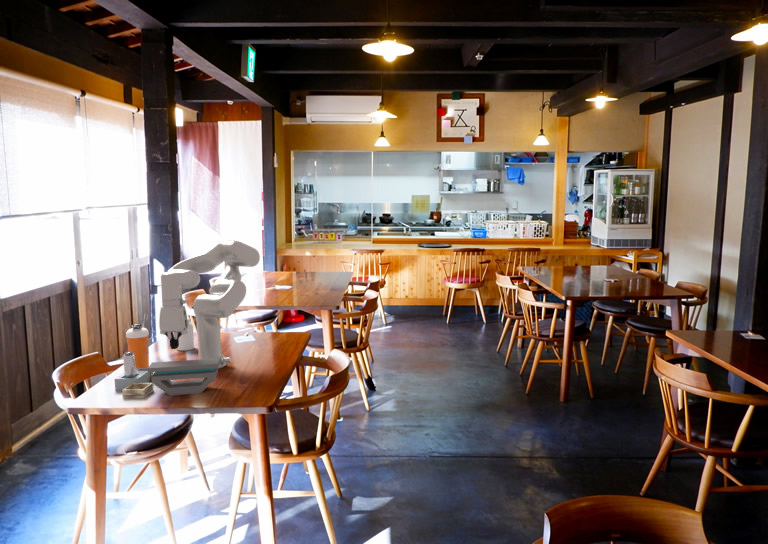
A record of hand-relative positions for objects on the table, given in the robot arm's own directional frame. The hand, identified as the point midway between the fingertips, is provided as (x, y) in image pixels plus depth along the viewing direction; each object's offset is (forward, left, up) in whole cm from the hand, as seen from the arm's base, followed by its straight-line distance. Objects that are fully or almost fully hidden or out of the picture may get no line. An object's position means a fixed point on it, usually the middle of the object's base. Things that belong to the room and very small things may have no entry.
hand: (174, 348), depth 235 cm
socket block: (+15, +5, -13) cm, 20 cm away
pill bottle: (+14, -49, -14) cm, 53 cm away
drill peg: (+15, +8, -13) cm, 21 cm away
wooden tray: (+8, +16, -13) cm, 23 cm away
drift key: (+8, 0, -13) cm, 16 cm away
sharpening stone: (-9, +13, -14) cm, 21 cm away
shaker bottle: (+20, -12, -13) cm, 27 cm away
